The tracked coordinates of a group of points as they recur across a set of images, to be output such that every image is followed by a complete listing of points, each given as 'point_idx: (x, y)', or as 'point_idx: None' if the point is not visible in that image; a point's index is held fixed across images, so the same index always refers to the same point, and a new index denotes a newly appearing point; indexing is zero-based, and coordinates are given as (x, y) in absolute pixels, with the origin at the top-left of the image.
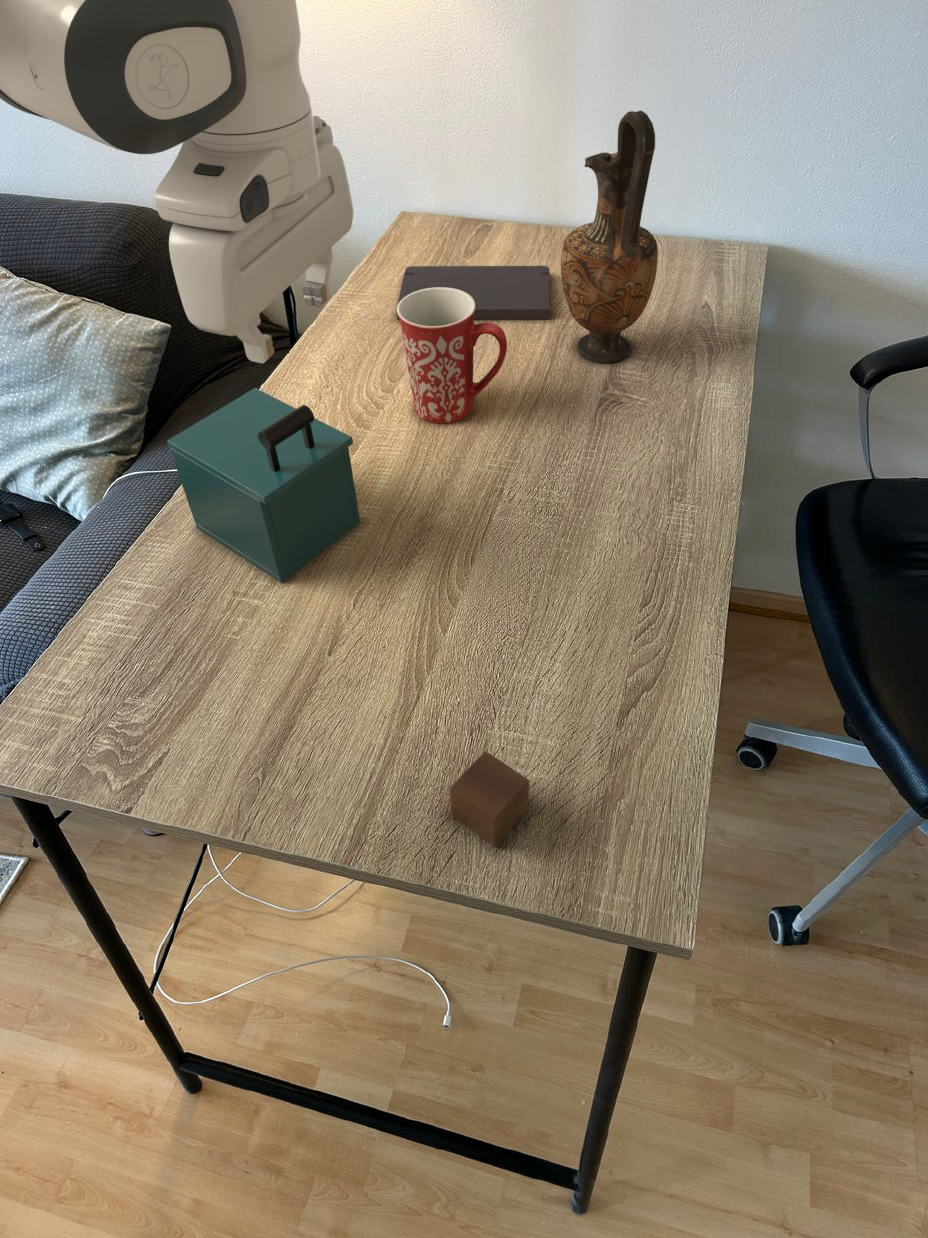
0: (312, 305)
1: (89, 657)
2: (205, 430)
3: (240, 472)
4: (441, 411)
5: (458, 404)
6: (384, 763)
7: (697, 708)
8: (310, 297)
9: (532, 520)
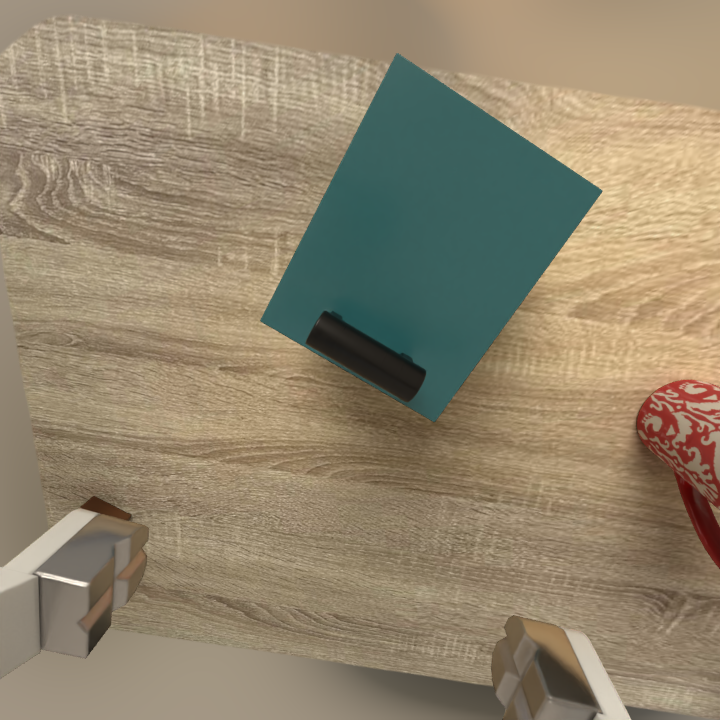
0: (505, 631)
1: (145, 81)
2: (438, 133)
3: (317, 258)
4: (648, 431)
5: (658, 456)
6: (121, 440)
7: (237, 642)
8: (518, 663)
9: (442, 532)
